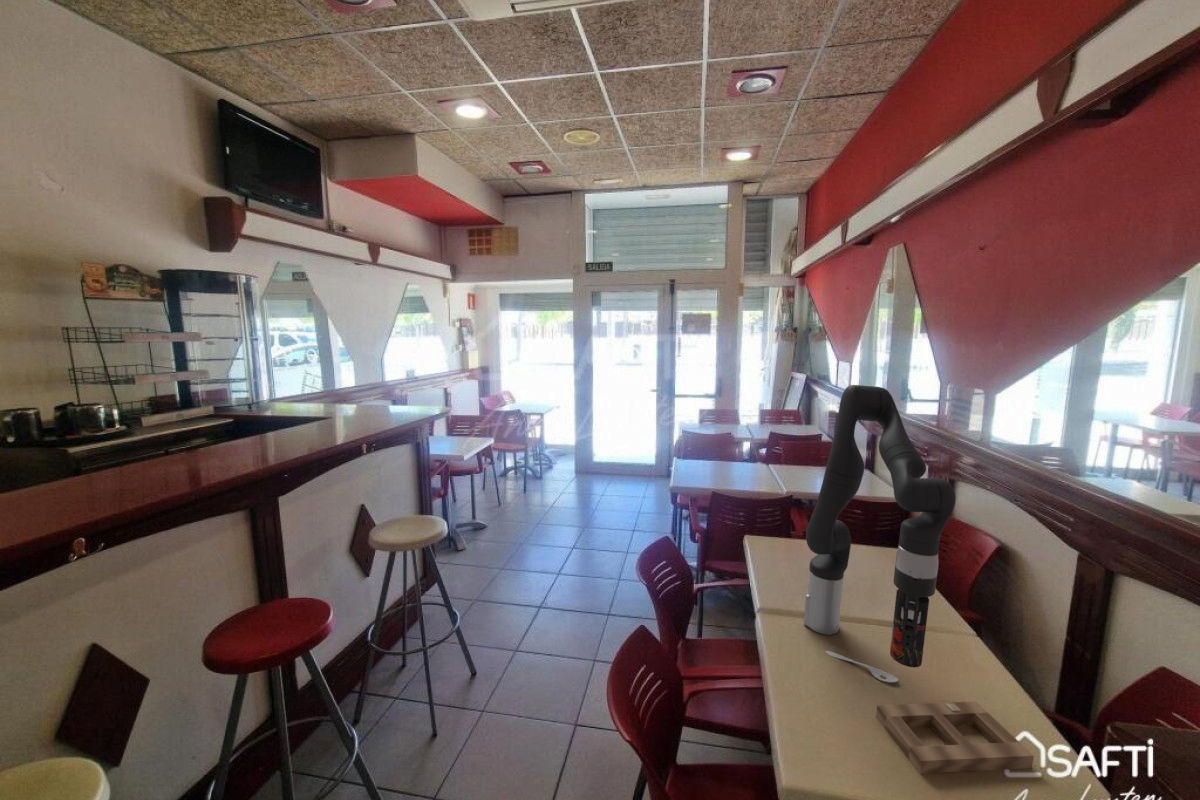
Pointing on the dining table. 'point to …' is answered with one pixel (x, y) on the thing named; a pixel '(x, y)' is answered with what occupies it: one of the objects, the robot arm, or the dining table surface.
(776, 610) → the dining table surface
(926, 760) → the wooden frame
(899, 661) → the deodorant
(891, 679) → the spoon
